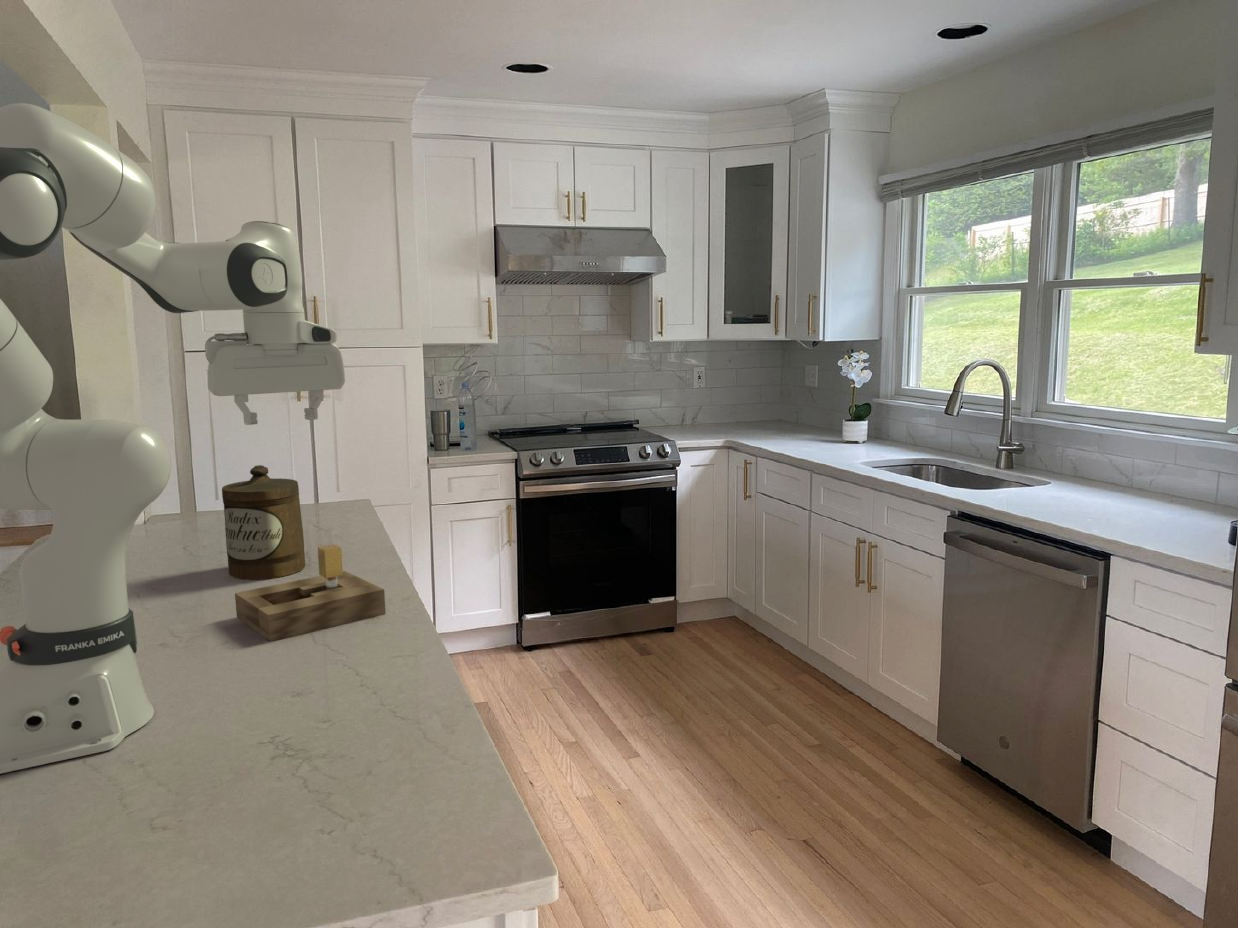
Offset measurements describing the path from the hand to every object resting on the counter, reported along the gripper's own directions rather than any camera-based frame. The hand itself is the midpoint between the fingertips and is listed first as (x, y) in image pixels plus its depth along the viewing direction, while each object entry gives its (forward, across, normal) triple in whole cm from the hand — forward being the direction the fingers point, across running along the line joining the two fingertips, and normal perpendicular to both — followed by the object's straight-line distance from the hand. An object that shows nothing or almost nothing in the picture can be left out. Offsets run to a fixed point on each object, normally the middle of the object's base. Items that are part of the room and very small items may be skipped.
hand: (281, 421), depth 138 cm
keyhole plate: (+35, +6, +9) cm, 37 cm away
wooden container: (+36, +11, +44) cm, 58 cm away
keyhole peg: (+34, +10, +9) cm, 37 cm away
